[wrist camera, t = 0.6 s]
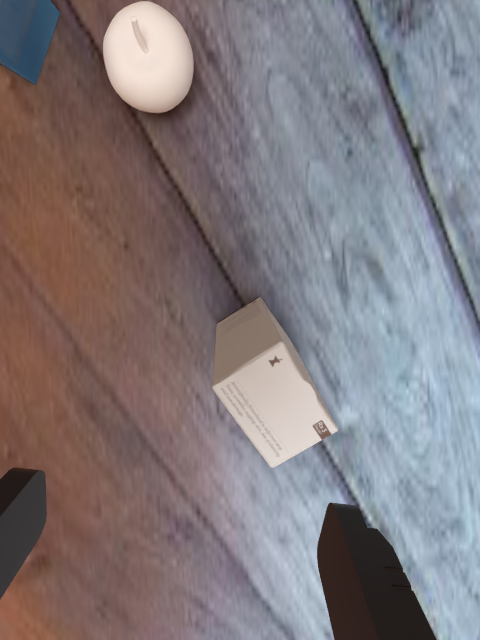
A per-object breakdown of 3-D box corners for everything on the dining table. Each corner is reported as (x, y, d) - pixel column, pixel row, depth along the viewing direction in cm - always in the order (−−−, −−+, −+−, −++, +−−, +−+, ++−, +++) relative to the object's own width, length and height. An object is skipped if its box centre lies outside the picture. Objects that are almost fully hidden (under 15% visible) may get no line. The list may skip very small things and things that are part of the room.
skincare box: (215, 323, 36) (201, 384, 22) (263, 293, 35) (280, 336, 21) (256, 382, 38) (267, 474, 24) (302, 355, 37) (342, 434, 23)
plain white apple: (203, 42, 30) (191, -24, 22) (194, 131, 31) (179, 98, 24) (124, 28, 29) (82, -45, 21) (119, 118, 31) (79, 81, 23)
